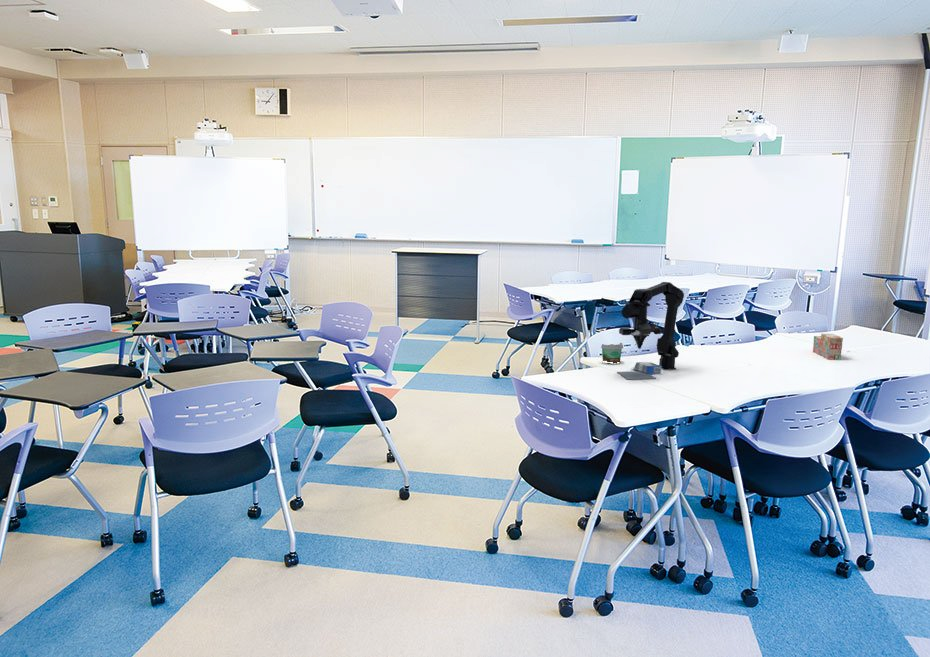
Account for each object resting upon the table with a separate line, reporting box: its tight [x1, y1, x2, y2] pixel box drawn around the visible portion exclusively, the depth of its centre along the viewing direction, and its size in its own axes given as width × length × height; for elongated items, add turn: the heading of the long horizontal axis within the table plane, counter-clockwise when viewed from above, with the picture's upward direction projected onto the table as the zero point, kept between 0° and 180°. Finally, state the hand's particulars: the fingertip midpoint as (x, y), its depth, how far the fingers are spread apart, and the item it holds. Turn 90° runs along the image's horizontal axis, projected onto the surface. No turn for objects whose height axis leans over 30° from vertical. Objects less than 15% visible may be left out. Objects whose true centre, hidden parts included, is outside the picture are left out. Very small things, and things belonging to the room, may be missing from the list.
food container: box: [600, 342, 624, 363], centre depth 331 cm, size 12×6×10 cm, turn 112°
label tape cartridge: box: [632, 361, 662, 374], centre depth 314 cm, size 9×4×12 cm
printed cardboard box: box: [812, 333, 844, 361], centre depth 351 cm, size 21×6×12 cm, turn 172°
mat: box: [616, 370, 657, 381], centre depth 305 cm, size 14×14×1 cm
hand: (639, 348), depth 306 cm, fingers closed
